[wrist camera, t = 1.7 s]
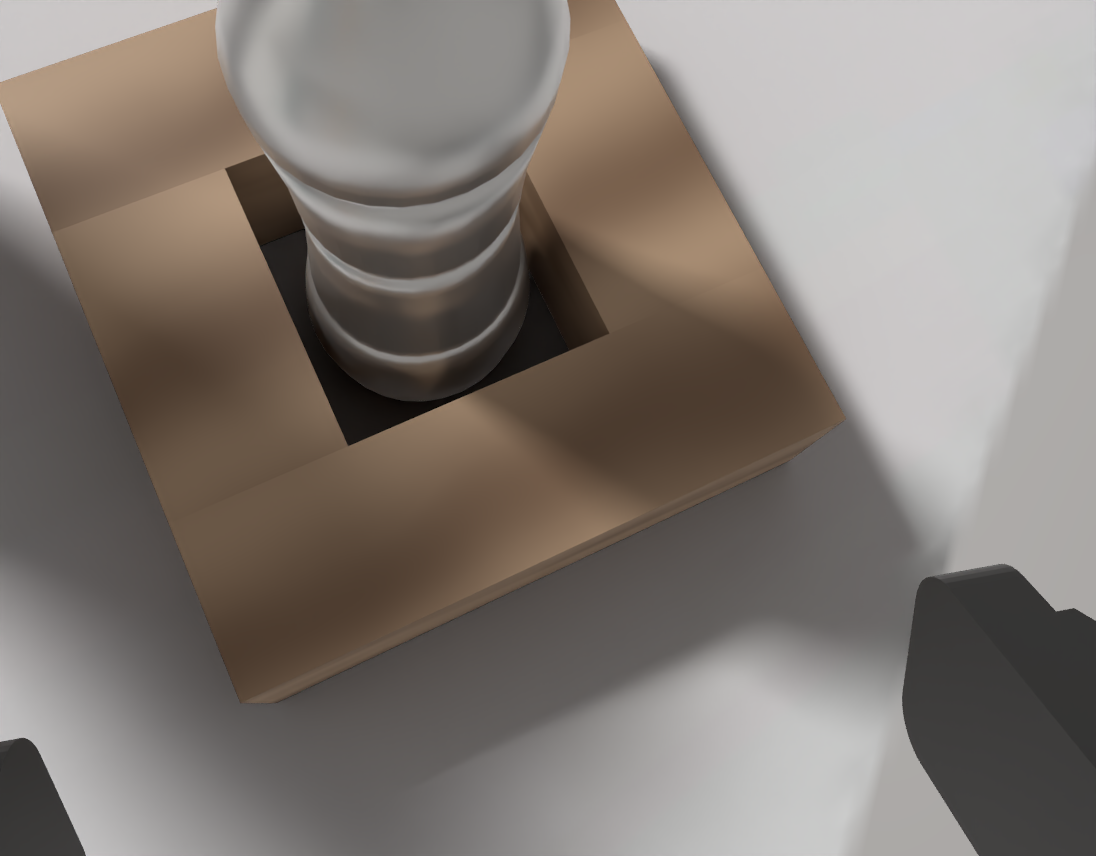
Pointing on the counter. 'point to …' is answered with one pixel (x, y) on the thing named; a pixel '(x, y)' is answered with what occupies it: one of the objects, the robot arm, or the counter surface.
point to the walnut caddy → (445, 432)
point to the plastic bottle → (403, 168)
